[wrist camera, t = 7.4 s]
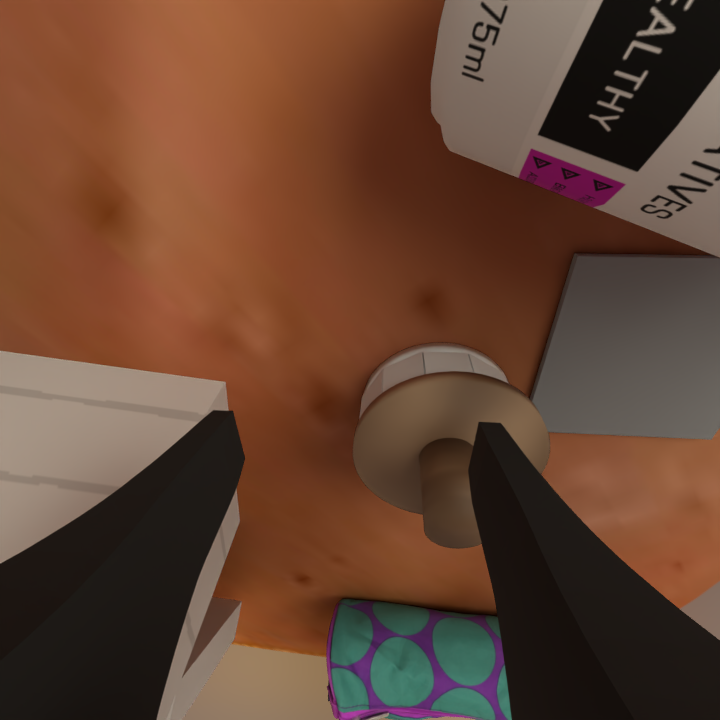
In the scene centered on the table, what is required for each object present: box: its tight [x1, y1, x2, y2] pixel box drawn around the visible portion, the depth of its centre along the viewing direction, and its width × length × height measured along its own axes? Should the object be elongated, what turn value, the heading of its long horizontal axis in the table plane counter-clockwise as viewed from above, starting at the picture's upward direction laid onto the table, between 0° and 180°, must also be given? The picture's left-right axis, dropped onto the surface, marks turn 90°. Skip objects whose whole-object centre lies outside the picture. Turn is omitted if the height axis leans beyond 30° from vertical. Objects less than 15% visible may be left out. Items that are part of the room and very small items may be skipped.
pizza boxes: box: [0, 351, 242, 720], centre depth 23 cm, size 19×30×18 cm, turn 173°
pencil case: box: [327, 599, 512, 720], centre depth 35 cm, size 21×9×10 cm, turn 88°
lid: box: [353, 371, 550, 548], centre depth 19 cm, size 10×10×5 cm
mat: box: [530, 253, 720, 439], centre depth 20 cm, size 11×11×1 cm
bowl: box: [359, 342, 509, 419], centre depth 22 cm, size 9×9×4 cm
